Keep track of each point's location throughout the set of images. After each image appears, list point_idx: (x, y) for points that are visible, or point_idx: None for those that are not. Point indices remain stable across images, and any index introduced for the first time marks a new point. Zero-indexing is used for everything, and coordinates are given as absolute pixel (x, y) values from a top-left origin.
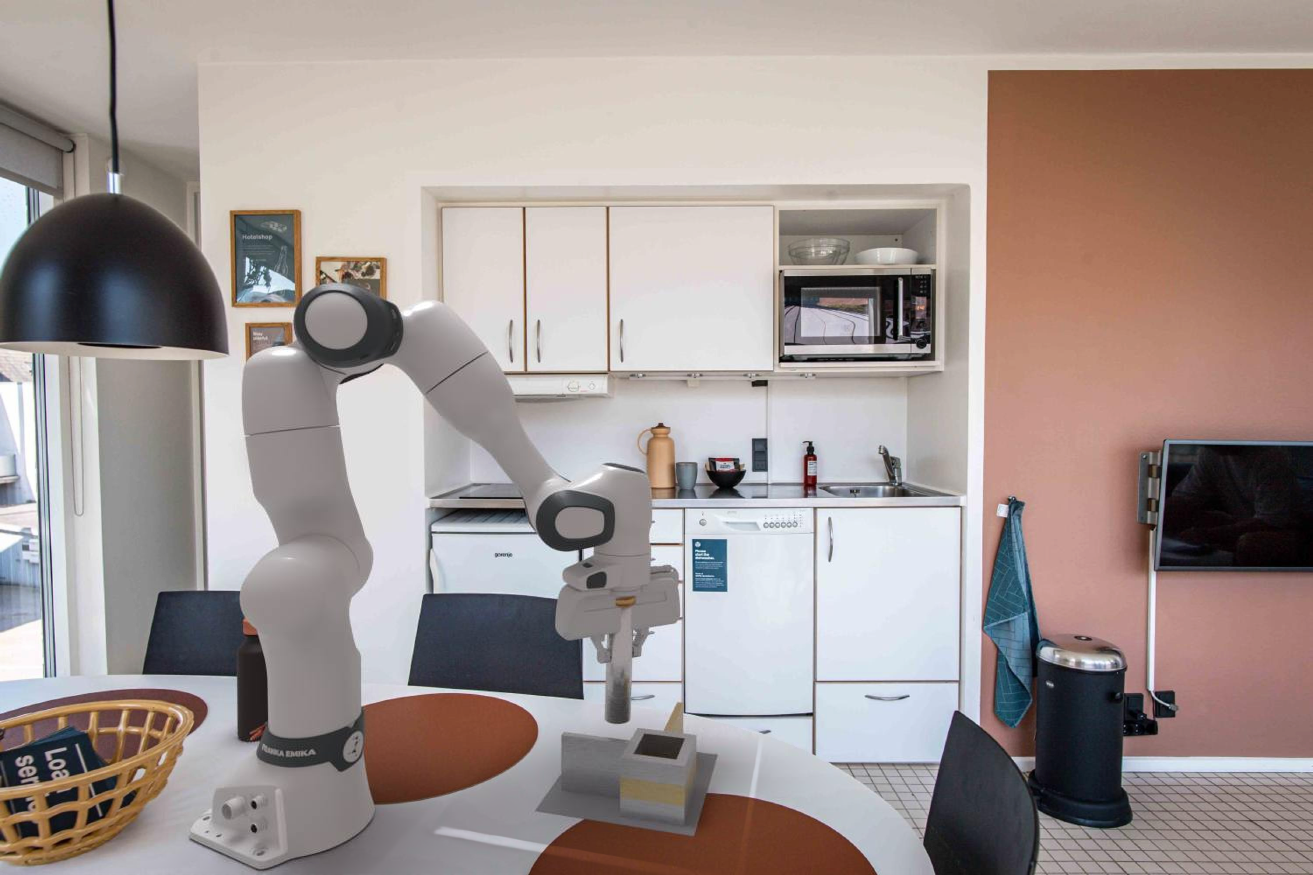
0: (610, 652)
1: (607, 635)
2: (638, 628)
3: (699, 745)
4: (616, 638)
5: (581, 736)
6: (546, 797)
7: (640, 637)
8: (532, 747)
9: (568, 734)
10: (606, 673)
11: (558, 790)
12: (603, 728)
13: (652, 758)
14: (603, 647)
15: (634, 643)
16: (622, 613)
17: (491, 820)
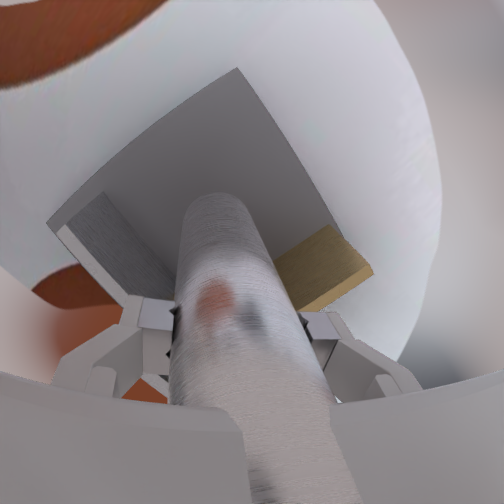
0: (167, 372)
1: (169, 403)
2: None
3: (378, 213)
4: None
5: (89, 264)
6: (69, 202)
7: (352, 395)
8: (147, 17)
9: (68, 240)
10: (177, 276)
11: (91, 197)
12: (303, 43)
13: (167, 388)
14: (123, 392)
15: (333, 354)
16: None
17: (9, 186)
